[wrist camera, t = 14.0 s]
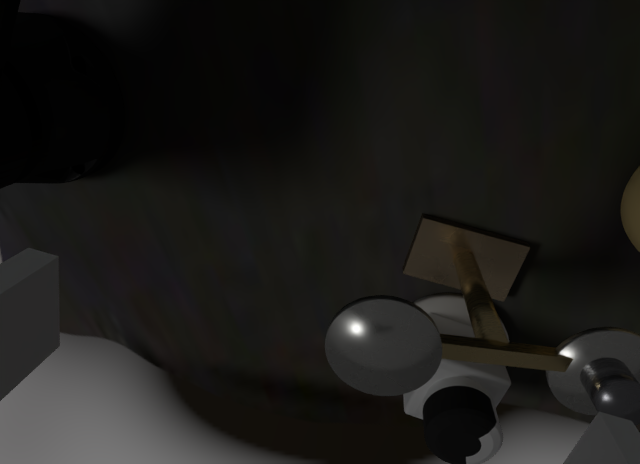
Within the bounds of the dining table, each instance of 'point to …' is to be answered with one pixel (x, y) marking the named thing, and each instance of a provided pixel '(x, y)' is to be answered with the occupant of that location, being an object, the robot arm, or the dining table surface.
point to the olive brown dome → (632, 209)
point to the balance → (476, 329)
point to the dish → (448, 307)
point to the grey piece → (460, 405)
